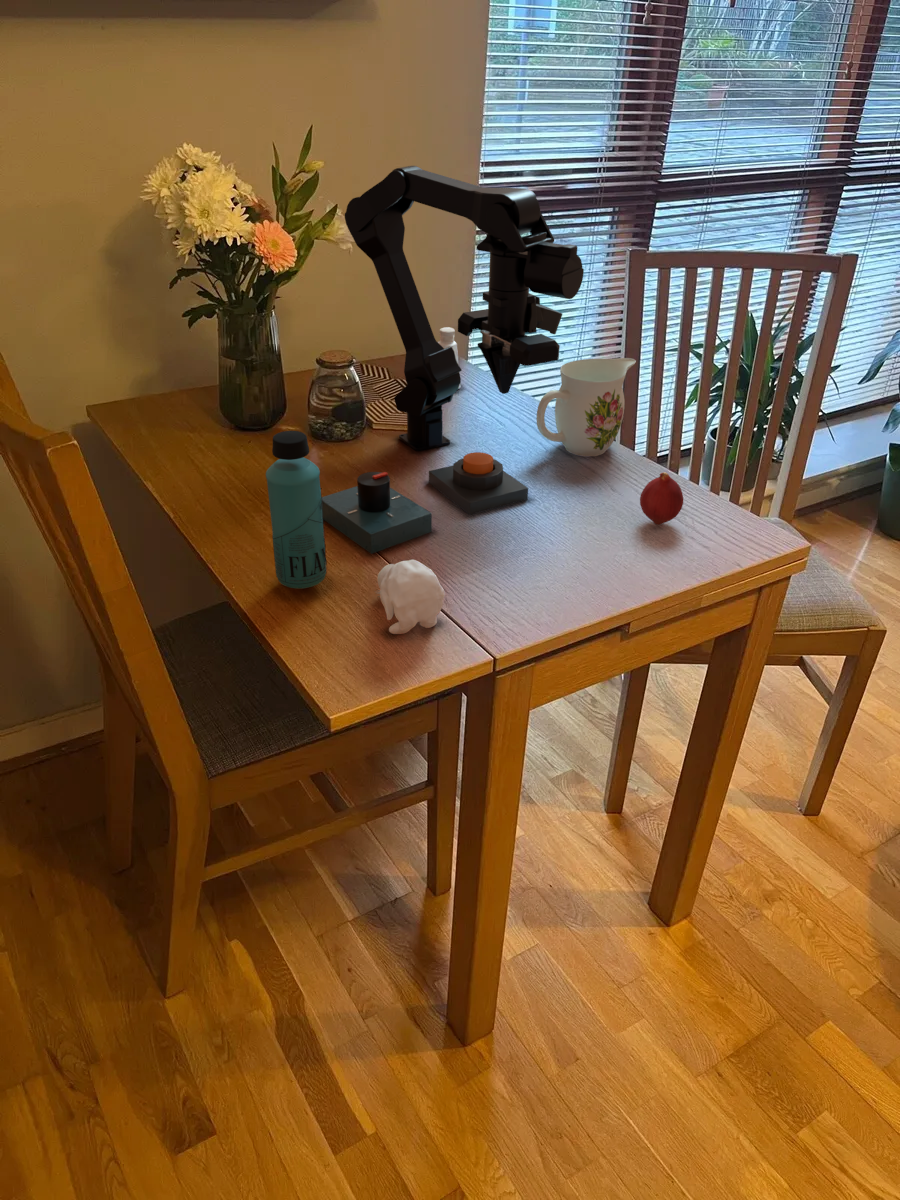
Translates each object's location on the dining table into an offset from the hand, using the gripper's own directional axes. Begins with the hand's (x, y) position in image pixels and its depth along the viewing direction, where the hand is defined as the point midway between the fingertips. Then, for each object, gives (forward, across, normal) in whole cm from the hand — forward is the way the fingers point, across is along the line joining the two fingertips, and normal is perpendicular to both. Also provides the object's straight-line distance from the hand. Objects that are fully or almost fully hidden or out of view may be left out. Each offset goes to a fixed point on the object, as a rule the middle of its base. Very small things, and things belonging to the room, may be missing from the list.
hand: (504, 392), depth 139 cm
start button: (+8, -6, +8) cm, 13 cm away
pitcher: (+12, -1, -15) cm, 19 cm away
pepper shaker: (+6, +34, -10) cm, 36 cm away
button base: (+12, -6, +8) cm, 16 cm away
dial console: (+12, -8, +26) cm, 30 cm away
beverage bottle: (+12, -18, +41) cm, 46 cm away
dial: (+9, -8, +26) cm, 29 cm away
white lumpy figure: (+12, -30, +33) cm, 46 cm away
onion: (+12, -27, -9) cm, 31 cm away
